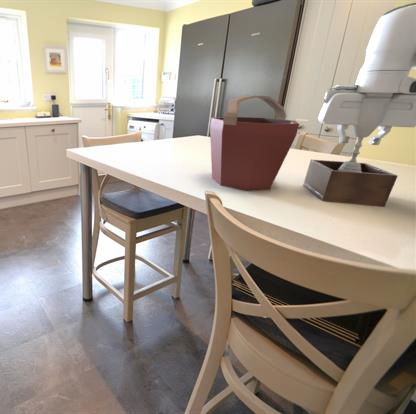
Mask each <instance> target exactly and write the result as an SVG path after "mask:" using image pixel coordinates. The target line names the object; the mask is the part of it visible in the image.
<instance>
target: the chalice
mask: <svg viewBox="0 0 416 414" xmlns="http://www.w3.org/2000/svg"><path fill="white" fill-rule="evenodd" d="M392 100H393V99H363V98H362V101H363V102H362V105H361V112H360V115H359V118H358V125H351V127H352V130H353V131H352V132H353V133H354V134H353V136H355V137H357V141H356V143H355V144H353V146H354V149H353V151H351V154H352V156H351V158H350V159H349V160H347V161H346V160H345V161H343V162H344V163H343V164H342V165H341V167H340V168H339V169H338V170H339V171H349V172H362V171H361V167H360V166H361V165H360V163H361V162H358V161H357V157H358V156H359V154H361V153H360V149H361V147H363V143H362V142H363V140H364V138H365V139H366V138H368V137H370V136H371V135H372V133H374V131H375V130H376V129H377V128H379V127H380V126H379V124H380V123H381V122H382V121H383V118H384V115H385V113H386V110H387V107H388V104H389V103H390V102H391V101H392Z"/></svg>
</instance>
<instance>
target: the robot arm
mask: <svg viewBox="0 0 416 414" xmlns="http://www.w3.org/2000/svg"><path fill="white" fill-rule="evenodd" d="M411 70H415V71H416V2H413V3H412V2H411V3H408V4H405V5H401V6H397V7H394V8H392V9H390V10H388V11H386V12H385V13H383V14H382V15H381V16H380V17H379V19H378V21H377V23H376V25H375V27H374V28H373V31H372V33H371V36H370V38H369V41H368V44H367V47H366V50H365V60H364V62H363V65H362V67H360V69H359V72H358V75H357V78H356V81H355V84H347V85H346V84H345V85H344V84H343V85H342V84H337V85H334V86H332V87H330V88H329V89H327V91H326V93H325V95H324V99H323V101H324V103H323V104H322V107H321V109H320V111H319V114H318V117H317V120H318V122H319V123H320V124H322V125H337V127H336V129H337V132H338V135H339V137H338V141H337V143H339V144H348V143H349V140H350V139H351V136H349V135H347V133H346V130H348V128H349V126H352V125H358V118H359V115H360V112H361V105H362V102H363V101H362V98H363V99H393V100H392V101H391V102H390V103H389V104H388V107H387V110H386V113H385V115H384V118H383V121H382V122H381V123H380V124H379V126H378V131H379V132H378V133H377V134H375V136H369V141H368V145H371V146H379V145H380V144H381V141H382V139H383V138H384V137H386V136H387V135H388V134H389V133H390V132H391V131H392V127H394V128H416V78H414V77H412V76H409V75H410V71H411Z"/></svg>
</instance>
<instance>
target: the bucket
mask: <svg viewBox="0 0 416 414" xmlns="http://www.w3.org/2000/svg"><path fill="white" fill-rule="evenodd" d="M251 99H260V100H262V101H263V102H264V103H266V104H267V105H268V106H269V107H271V108H272V109H273V111H274V113H275V118H271V117H254V116H253V117H252V116H238V114H239V113H240V106H241V105H240V104H241V102H243V101H247V100H251ZM227 103H228V104H227V111H226V112H225V113H224V115H223V116H217V117H211V119H210V124H209V135H210V136H209V140H210V158H211V160H210V161H211V178H212V180H214V181H215V182H216V183H217V184H218V185H219V186H222V187H228V188H232V189H238V190H242V191H247V192H248V191H264V190H266V191H267V190H271V188H272V186H273V184H274V182H275V180H276V178H277V176H278V174H279V173H280V172H279V171H280V169H281V167H282V166H283V163H284V161H285V160H286V157H287V155H288V153H289V151H290V149H291V147H292V145H293V143H294V141H295V139H296V137H297V134H298V130H299V126H300V123H299V122H298V121H296V120H291V119H287V113H286V110H285V107H284V106H283V105H282V104H280V103H279V102H278V101H277V100H275V98H273V97H271V96H266V95H243V96H237V97H234V98H231V99H229V100H228V102H227Z"/></svg>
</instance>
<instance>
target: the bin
mask: <svg viewBox="0 0 416 414" xmlns="http://www.w3.org/2000/svg"><path fill="white" fill-rule="evenodd" d="M344 162H345V161H342V160H341V161H338V160H325V159H310V160H309V164H308V167H307V171H306V176H305V178H304V180H303V187H304V188H306V189H307V190H308V191H309V192H311V193H312V195H315V197H317V198H318V199H319V200H321V201H322V202H330V203H342V204H352V205H361V206H363V205H364V206H373V207H386V205H387V202H388V200H389V198H390V195H391V193H392V190H393V188H394V186H395V183H396V181H397V178H398V175H397V174H394V173H392V172H389V171H387V170H384V169H381V168H379V167H377V166H375V165H372V164H369V163H367V162H359V163H360V165H361V166H360V167H361V171H362V172H349V171H339V170H338V169H339V168H340V167H341V165H342V164H343V163H344Z"/></svg>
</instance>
